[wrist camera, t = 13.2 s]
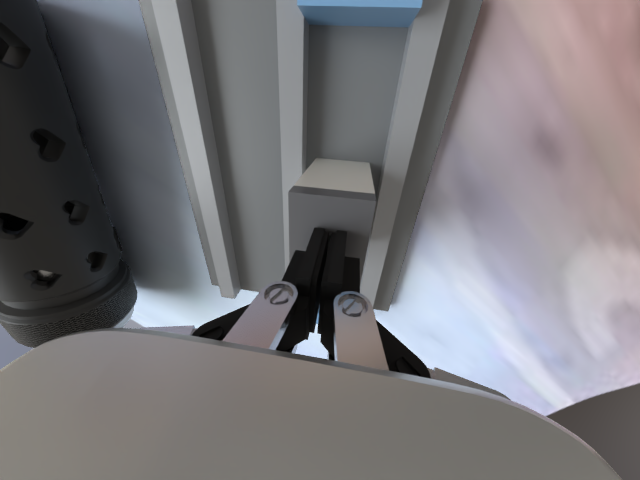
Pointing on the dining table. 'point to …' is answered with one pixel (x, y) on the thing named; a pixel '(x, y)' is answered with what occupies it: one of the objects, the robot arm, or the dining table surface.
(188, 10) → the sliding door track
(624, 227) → the dining table surface
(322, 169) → the grey rectangular prism
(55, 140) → the muzzle brake
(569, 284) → the dining table surface
